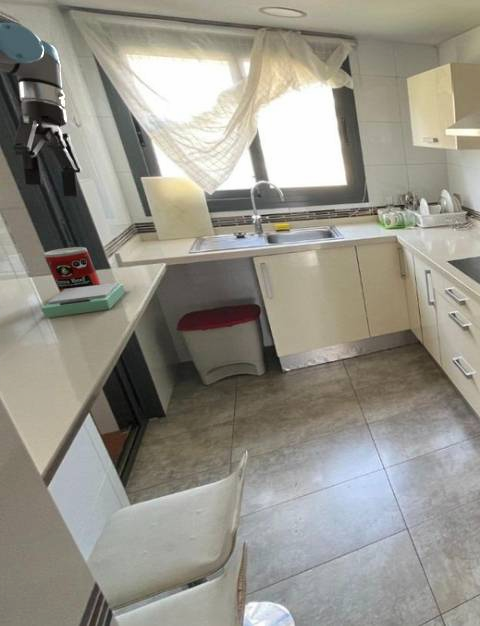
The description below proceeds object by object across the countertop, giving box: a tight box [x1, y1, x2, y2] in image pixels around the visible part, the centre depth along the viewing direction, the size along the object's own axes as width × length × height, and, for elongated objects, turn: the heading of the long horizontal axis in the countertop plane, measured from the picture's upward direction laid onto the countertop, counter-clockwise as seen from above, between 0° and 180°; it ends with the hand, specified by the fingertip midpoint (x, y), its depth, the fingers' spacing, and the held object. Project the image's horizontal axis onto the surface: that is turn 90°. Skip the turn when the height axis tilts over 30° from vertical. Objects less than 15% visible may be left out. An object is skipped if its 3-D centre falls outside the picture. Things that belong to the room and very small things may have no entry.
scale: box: [41, 282, 126, 319], centre depth 110 cm, size 11×14×3 cm
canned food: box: [43, 246, 102, 293], centre depth 117 cm, size 8×8×11 cm
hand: (54, 190), depth 116 cm, fingers open, 13 cm apart
